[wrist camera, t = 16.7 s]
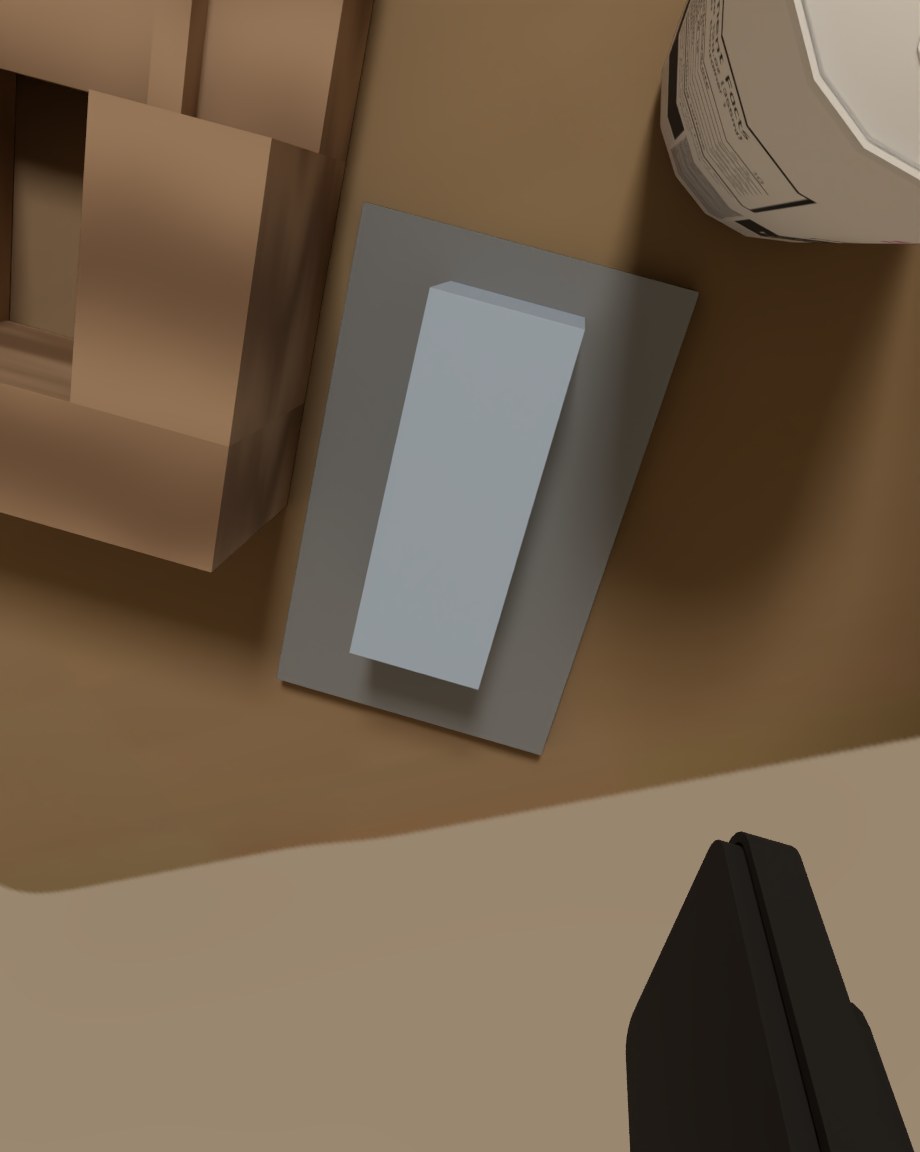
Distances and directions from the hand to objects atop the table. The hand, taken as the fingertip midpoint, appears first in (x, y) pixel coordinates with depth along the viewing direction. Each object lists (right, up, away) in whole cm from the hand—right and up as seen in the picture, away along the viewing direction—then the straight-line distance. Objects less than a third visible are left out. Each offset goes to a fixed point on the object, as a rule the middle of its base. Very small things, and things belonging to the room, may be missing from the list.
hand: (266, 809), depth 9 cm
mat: (+2, +5, +22) cm, 23 cm away
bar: (+2, +6, +21) cm, 22 cm away
